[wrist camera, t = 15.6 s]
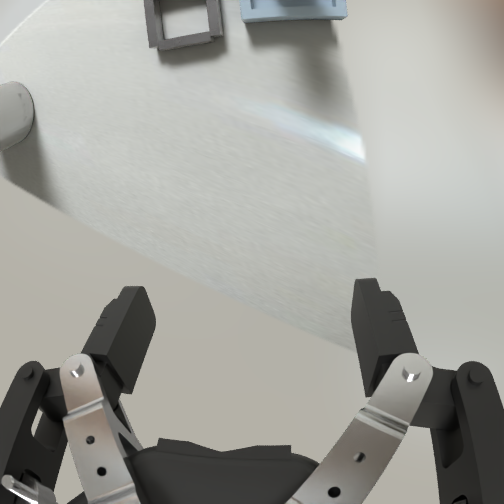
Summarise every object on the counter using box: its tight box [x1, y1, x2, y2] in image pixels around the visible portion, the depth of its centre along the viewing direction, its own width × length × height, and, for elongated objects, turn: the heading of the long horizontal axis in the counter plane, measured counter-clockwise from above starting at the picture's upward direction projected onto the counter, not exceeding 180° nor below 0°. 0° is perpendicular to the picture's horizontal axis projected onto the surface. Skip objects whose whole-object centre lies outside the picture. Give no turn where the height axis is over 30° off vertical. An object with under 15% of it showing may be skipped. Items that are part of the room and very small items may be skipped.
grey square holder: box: [144, 0, 223, 51], centre depth 26 cm, size 7×7×2 cm
